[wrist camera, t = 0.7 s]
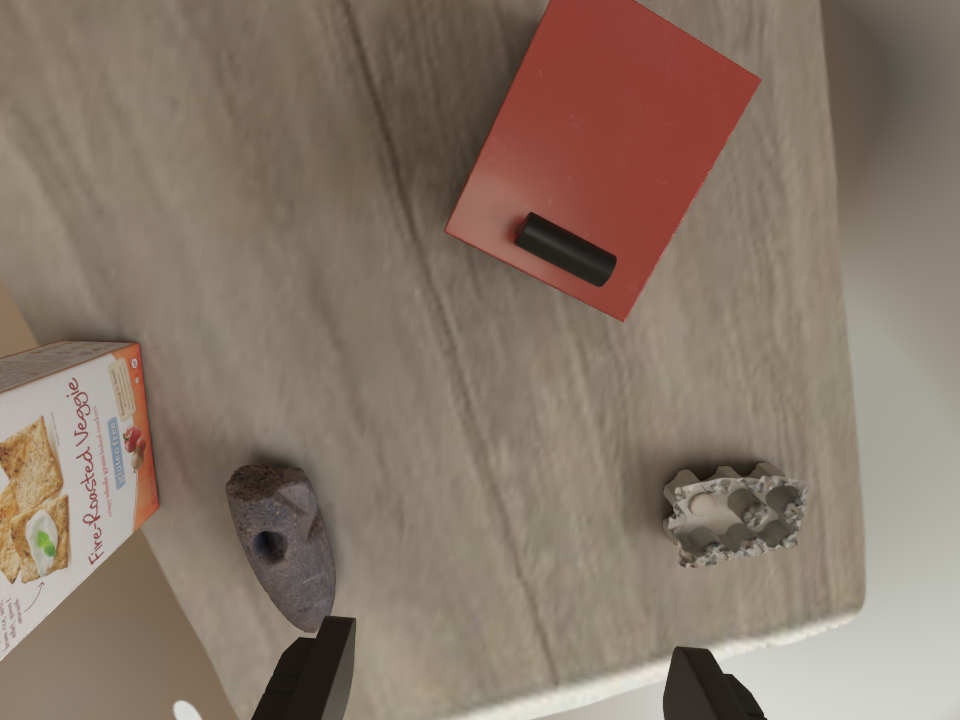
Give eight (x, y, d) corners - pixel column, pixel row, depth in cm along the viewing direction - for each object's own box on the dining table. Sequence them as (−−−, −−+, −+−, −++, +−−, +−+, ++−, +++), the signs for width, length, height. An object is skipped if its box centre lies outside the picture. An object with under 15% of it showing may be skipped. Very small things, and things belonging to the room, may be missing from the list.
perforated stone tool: (358, 592, 45) (340, 657, 38) (299, 604, 45) (271, 671, 38) (310, 437, 41) (281, 479, 34) (245, 449, 41) (204, 494, 34)
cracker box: (167, 506, 42) (-101, 770, 22) (90, 505, 42) (-254, 772, 21) (146, 339, 38) (-197, 469, 18) (62, 336, 38) (-384, 465, 18)
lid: (620, 320, 32) (651, 339, 26) (443, 231, 30) (440, 233, 25) (754, 83, 28) (818, 53, 23) (565, -34, 27) (591, -93, 22)
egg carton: (656, 540, 45) (675, 571, 41) (663, 462, 43) (683, 486, 39) (776, 536, 45) (806, 566, 41) (788, 458, 43) (821, 482, 39)
